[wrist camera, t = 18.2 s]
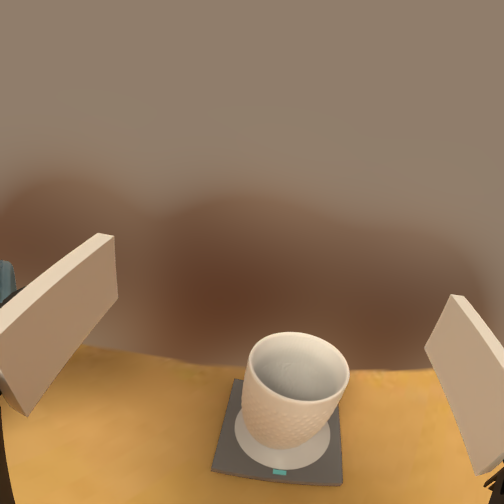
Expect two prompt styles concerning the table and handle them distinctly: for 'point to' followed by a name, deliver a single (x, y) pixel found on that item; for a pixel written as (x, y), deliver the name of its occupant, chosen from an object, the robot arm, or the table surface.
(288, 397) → the mug
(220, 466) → the kitchen scale
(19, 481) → the table surface
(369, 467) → the table surface
